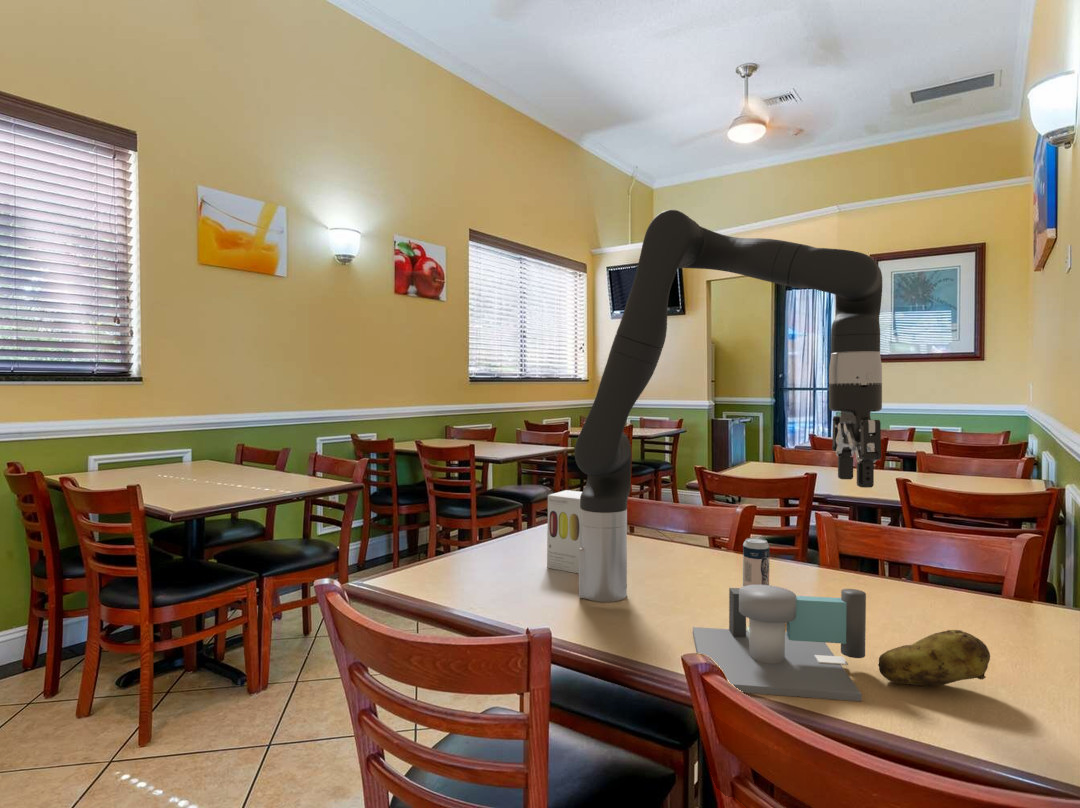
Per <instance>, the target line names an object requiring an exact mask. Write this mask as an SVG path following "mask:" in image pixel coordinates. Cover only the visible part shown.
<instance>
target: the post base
mask: <svg viewBox="0 0 1080 808" xmlns="http://www.w3.org/2000/svg"><path fill="white" fill-rule="evenodd" d="M740 588H741V587H729V588H728V589H729V591H728V592H729V594H728V595H729V599H728V601H729V602H728V603H729V605H728V607H729V608H728V609H729V610H728V611H729V612H728V613H729V614H728V620H729V621H728V628H715V627H699V626H692V636H693V641H694V645H695V646H694V647H695V651H696V654H697V653H700V654H705V655H708V656H709V657H711V658H712V659H713V660H714V661H715V662H716V663H717V664H718V666H720V668H721V669H722V670H723V672H724V674H725V675H726V677H727V679H728V680H729V682H730V683H731V684H733V685H734V686H735V687H736V688H738V689H739V690H741V691H743V692H742V693H744V692H745V693H747V692H748V693H749V694H758V695H759V694H761V695H772V696H786V697H797V696H800V698H810V697H811V698H813V699H823V700H824V699H826V700H835V701H836V700H837V701H851V702H853V701H854V702H862V692H861V691H860V689H859V688H858V686H857V685H856V684H855V682H854V681H853V680H852V678H851V677H850V675H849V674H848V673H847V672H846V670H845V668H844V667H843V666H849V663H848V662H847V660H846V659H845V657H844V656H837V655H835V654H834V653H833V652H832V651H831V649H830V647H829V646H828V645H827V643H825V642H809V641H793V640H789V638H788V637H787V632H786V623H768V622H761V621H756V620H753V619H750V618H748V619H749V623H748V626H747V617H745V616H743V615H742V614H741V613H740V612H739V589H740ZM748 693H747V694H748Z"/></svg>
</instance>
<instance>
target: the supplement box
mask: <svg viewBox="0 0 1080 808" xmlns="http://www.w3.org/2000/svg"><path fill="white" fill-rule="evenodd" d="M582 492H583V491H578V490H577V491H576V490H570V489H565V490H561V491H558V492H554V493H550V494H548V495H547V529H546V530H547V536H546V537H547V547H546V558H547V559H546V568H548V569H554V570H558V571H562V572H569V573H574V574H578V575H579V548H580V497H581V494H582Z"/></svg>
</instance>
